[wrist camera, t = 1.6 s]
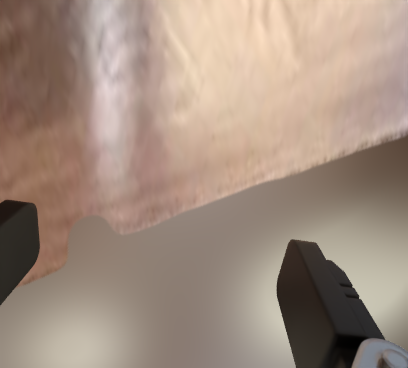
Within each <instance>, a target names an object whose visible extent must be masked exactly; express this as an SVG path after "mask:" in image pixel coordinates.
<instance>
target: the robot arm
mask: <svg viewBox="0 0 408 368" xmlns="http://www.w3.org/2000/svg"><path fill="white" fill-rule="evenodd" d="M39 249H40V243H39V230H38V217H37V208H36V206H35V204H33V203H28V202H21V201H14V200H5V201H3V202H2V203H0V305H1V304H2V303H3V302H4V300H5V299H6V298H7V296H9V294H10V293H11V292H12V290H14V288H15V287H16V286H17V285H18V284H19V282H20V281H21V280H22V279H23V278H24V276H25V275H26V274H27V273H28V272H29V270H30V269H31V268H32V267H33V265H34V264H35V262H36V260H37V257H38V254H39ZM277 298H278V302H279V306H280V309H281V313H282V317H283V321H284V324H285V328H286V332H287V335H288V339H289V343H290V346H291V350H292V354H293V357H294V361H295V365H296V368H408V352H407V351H406V350H405V349H403V348H401V347H400V346H398V345H396V344H394V343H392V342H389V341H386V340H385V338H384V337H383V335H382V333H381V332H380V330H379V328H378V327H377V325H376V323H375V322H374V320H373V318H372V317H371V315H370V313H369V312H368V310H367V309H366V307H365V305H364V303H363V302H362V300H361V299H359V295H358V294H357V292H356V290H355V289H354V288H352V284H351V282H350V280H349V279H348V277H347V276H346V274H345V272H344V271H342V270H341V269H340V268H339V267H338V266H337V265H336V264H335V263H334V262H332V261H331V260H326V259H325V257H324V255H323V253H322V252H321V250H320V248H319V246H318V245H317V243H314V242H308V241H301V240H290V242H289V244H288V246H287V249H286V253H285V257H284V259H283V263H282V266H281V269H280V273H279V276H278V280H277Z"/></svg>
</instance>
